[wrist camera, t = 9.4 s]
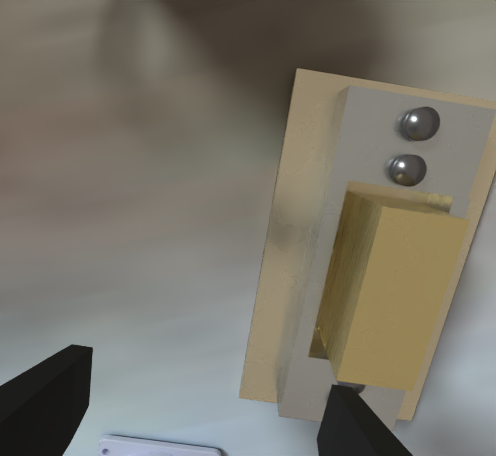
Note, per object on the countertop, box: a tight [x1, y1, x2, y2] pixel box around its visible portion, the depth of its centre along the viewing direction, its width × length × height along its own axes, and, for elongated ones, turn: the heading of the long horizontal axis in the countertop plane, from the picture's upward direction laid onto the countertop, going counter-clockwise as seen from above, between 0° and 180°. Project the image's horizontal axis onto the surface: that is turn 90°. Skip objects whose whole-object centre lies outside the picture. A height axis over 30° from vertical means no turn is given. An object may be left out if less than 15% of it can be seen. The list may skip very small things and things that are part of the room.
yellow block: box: [316, 191, 470, 391], centre depth 16 cm, size 8×4×4 cm, turn 171°
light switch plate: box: [239, 68, 496, 431], centre depth 17 cm, size 19×11×3 cm, turn 171°
